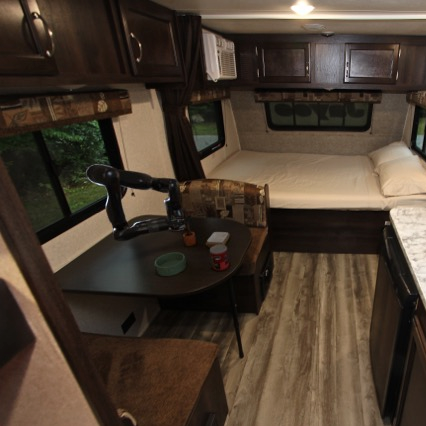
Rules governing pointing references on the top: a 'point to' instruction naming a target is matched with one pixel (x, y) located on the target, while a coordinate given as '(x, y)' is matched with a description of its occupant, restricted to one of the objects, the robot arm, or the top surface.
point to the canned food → (219, 257)
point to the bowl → (170, 264)
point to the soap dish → (217, 239)
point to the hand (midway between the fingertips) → (191, 218)
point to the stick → (186, 222)
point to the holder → (189, 239)
